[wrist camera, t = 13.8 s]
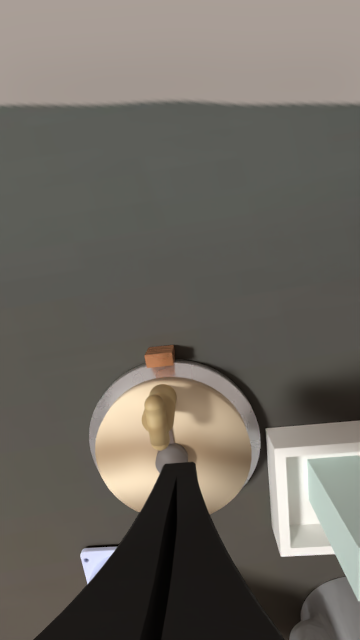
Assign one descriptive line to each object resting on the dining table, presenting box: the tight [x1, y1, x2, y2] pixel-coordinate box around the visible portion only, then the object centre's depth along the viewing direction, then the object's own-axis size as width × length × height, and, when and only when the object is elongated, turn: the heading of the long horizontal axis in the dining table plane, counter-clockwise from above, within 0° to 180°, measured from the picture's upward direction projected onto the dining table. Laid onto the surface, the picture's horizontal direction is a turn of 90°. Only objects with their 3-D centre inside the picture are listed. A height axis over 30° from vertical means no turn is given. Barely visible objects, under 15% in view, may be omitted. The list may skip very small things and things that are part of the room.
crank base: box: [89, 345, 260, 489], centre depth 22 cm, size 15×14×2 cm
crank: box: [95, 377, 252, 514], centre depth 19 cm, size 13×12×5 cm
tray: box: [265, 421, 360, 557], centre depth 22 cm, size 10×10×2 cm
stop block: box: [307, 455, 360, 601], centre depth 19 cm, size 4×4×7 cm
